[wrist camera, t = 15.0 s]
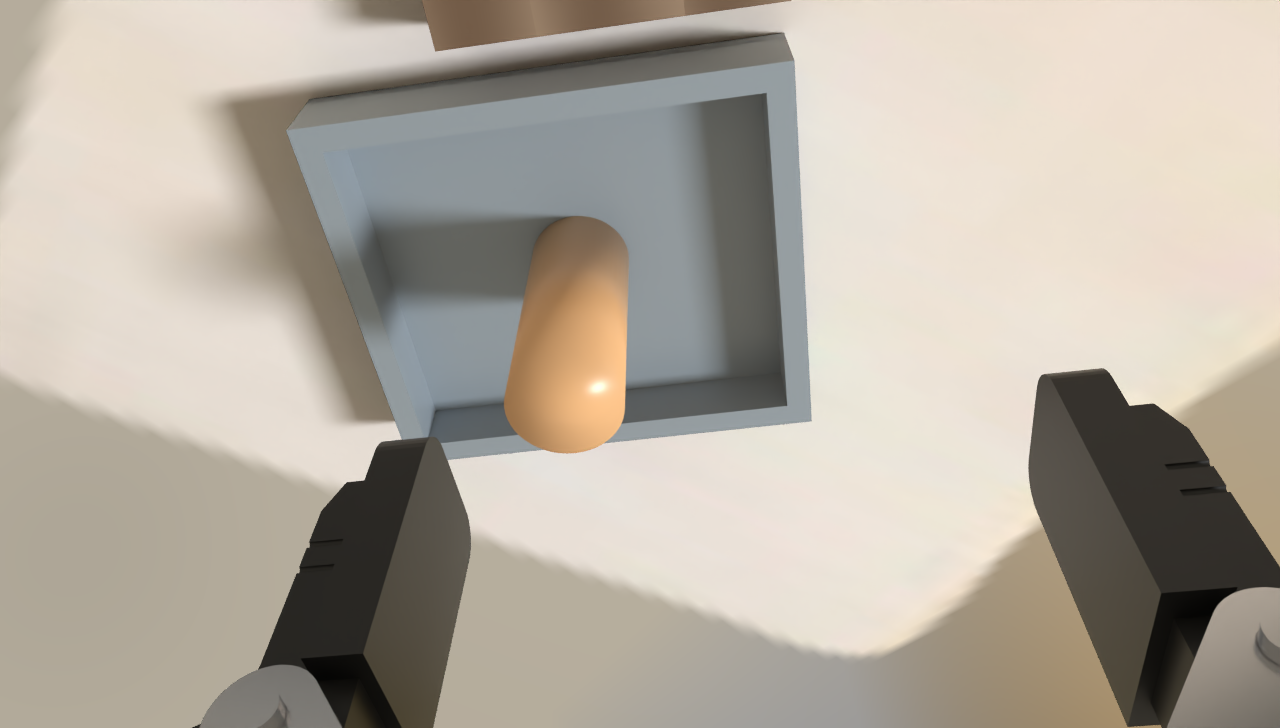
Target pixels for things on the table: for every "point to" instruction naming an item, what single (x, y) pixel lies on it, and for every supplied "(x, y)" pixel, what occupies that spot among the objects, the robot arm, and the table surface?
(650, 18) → the wooden square hole block
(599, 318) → the orange plug
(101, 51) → the table surface
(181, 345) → the table surface
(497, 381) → the slate tray
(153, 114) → the table surface
